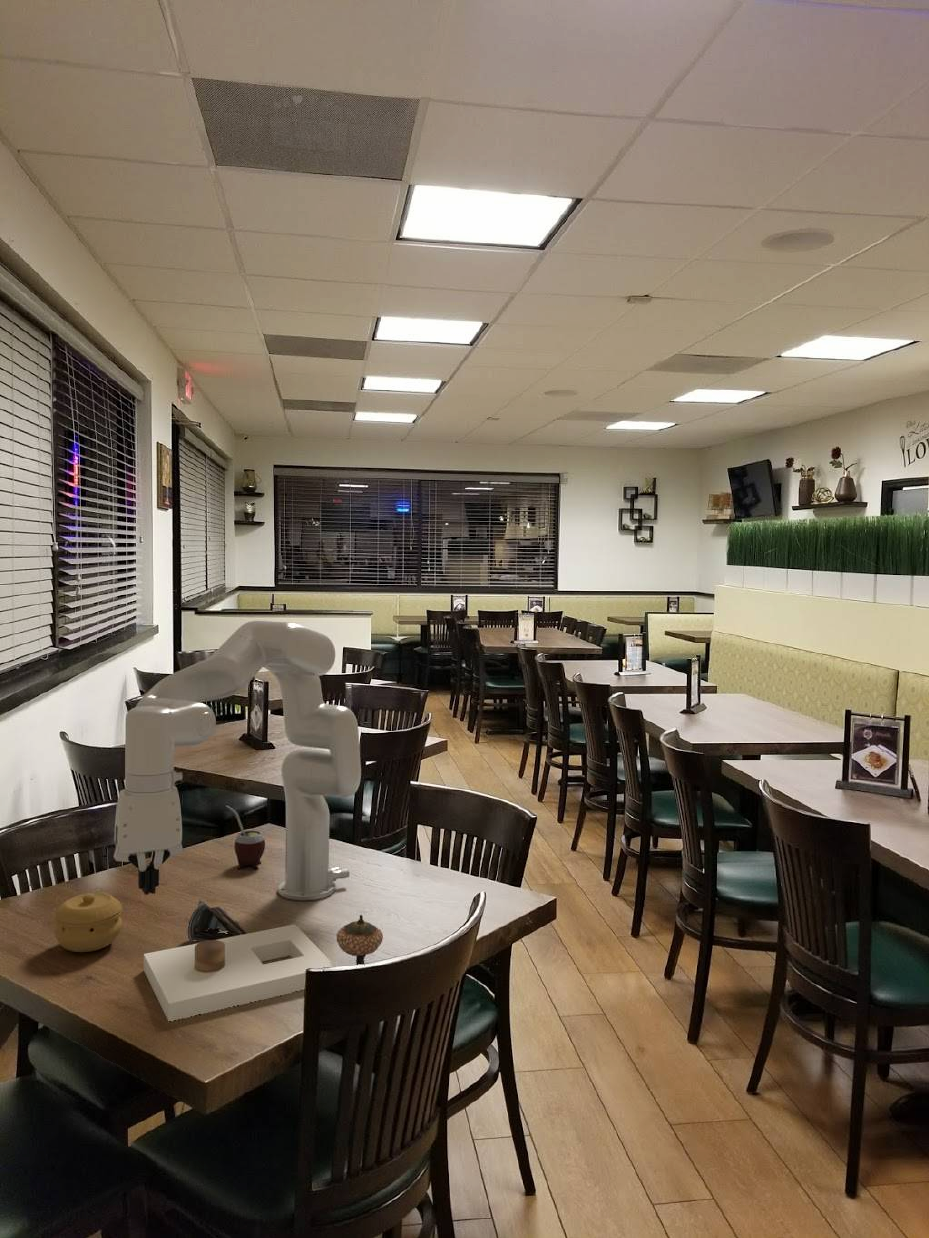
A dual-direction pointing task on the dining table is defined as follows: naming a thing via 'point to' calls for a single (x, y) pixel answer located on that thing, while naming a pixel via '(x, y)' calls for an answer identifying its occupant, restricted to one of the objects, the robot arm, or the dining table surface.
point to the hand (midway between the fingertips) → (148, 891)
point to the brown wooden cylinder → (209, 956)
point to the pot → (88, 922)
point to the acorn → (359, 939)
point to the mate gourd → (248, 846)
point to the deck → (233, 972)
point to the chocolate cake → (212, 924)
